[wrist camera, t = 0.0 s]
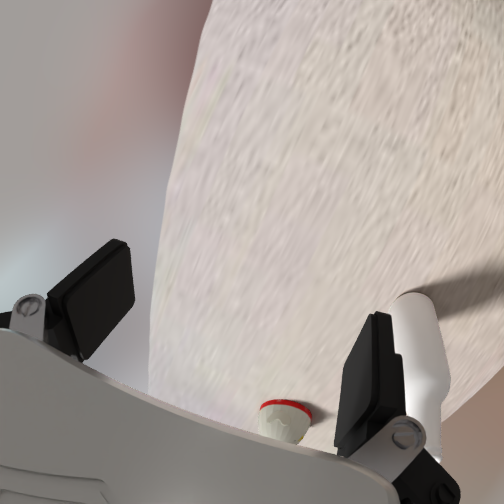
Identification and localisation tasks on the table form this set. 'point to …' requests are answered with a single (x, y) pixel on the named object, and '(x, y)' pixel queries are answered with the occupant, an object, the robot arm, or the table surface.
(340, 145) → the table surface
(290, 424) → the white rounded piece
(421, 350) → the alcohol
